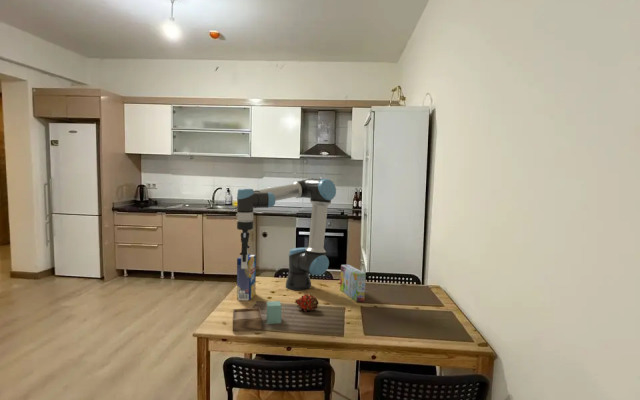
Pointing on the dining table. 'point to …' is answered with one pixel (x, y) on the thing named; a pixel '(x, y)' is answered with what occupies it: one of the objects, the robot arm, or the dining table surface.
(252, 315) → the tray
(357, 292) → the snack box
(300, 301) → the dragon fruit
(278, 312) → the block
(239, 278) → the beverage box
